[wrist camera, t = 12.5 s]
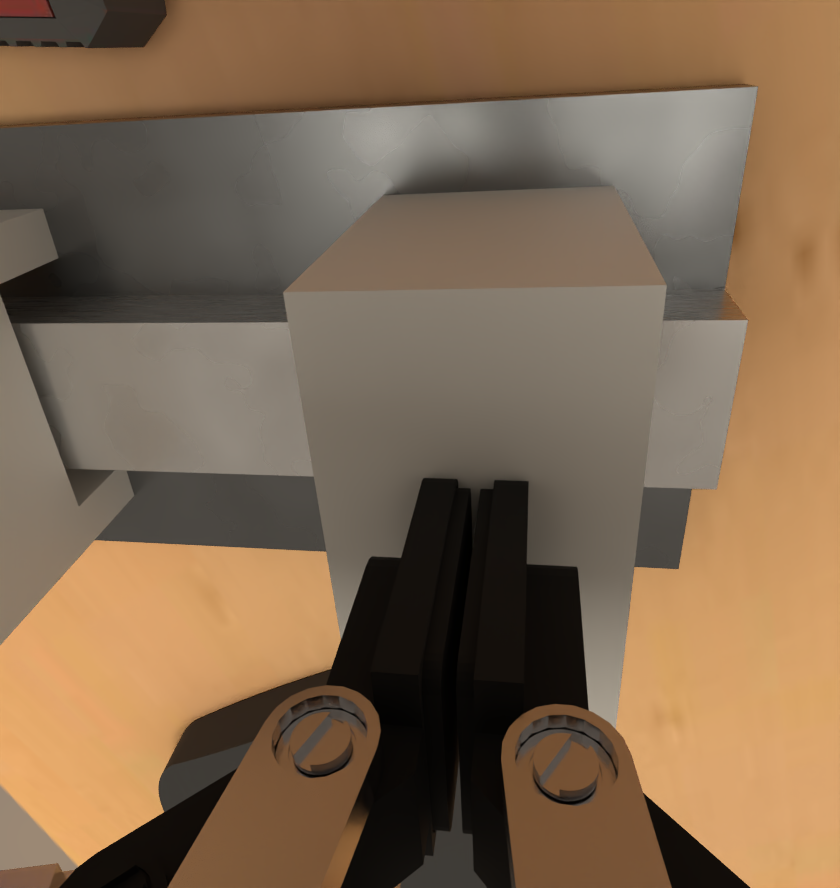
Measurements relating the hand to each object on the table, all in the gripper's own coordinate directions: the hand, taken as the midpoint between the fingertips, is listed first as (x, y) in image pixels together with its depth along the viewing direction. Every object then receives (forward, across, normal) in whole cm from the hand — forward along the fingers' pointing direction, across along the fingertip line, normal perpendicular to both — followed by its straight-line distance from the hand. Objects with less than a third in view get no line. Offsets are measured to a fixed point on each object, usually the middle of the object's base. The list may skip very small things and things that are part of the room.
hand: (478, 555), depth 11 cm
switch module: (+7, 0, 0) cm, 7 cm away
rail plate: (+8, +6, 0) cm, 10 cm away
